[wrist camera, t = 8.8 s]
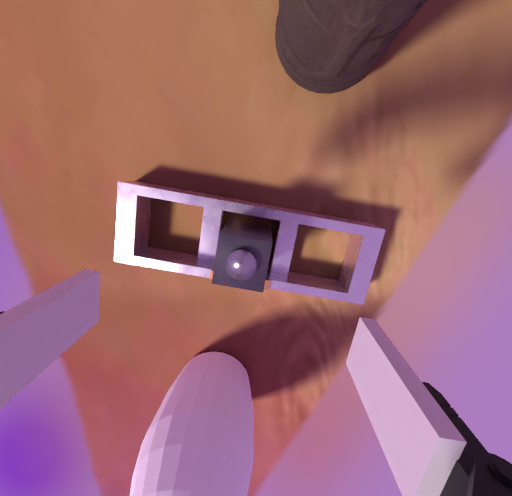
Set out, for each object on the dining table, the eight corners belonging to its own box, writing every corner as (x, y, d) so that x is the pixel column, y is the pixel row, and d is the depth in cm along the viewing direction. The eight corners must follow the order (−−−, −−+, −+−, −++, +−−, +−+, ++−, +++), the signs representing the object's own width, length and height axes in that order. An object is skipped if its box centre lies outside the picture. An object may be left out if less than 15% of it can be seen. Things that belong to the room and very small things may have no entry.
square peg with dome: (232, 216, 33) (217, 234, 22) (270, 222, 33) (272, 244, 22) (226, 252, 34) (210, 285, 24) (263, 258, 34) (262, 295, 24)
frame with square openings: (135, 180, 32) (116, 181, 28) (371, 223, 32) (387, 230, 28) (131, 251, 34) (112, 262, 30) (352, 290, 34) (364, 306, 30)
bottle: (258, 410, 39) (249, 801, 15) (180, 412, 40) (46, 794, 15) (254, 340, 37) (234, 678, 12) (170, 343, 37) (-14, 673, 12)
